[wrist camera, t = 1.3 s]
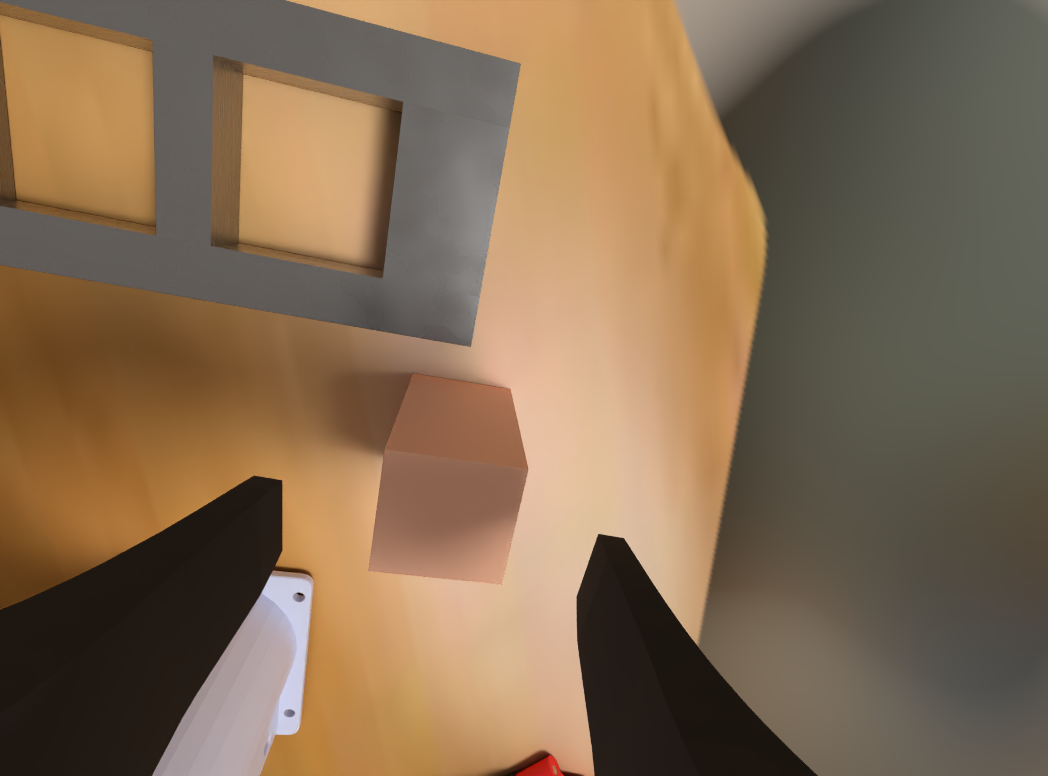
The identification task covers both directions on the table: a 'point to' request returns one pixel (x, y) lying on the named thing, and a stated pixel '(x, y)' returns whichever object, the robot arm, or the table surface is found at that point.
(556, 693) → the table surface
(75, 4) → the grey slotted board
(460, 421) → the peg
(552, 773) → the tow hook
